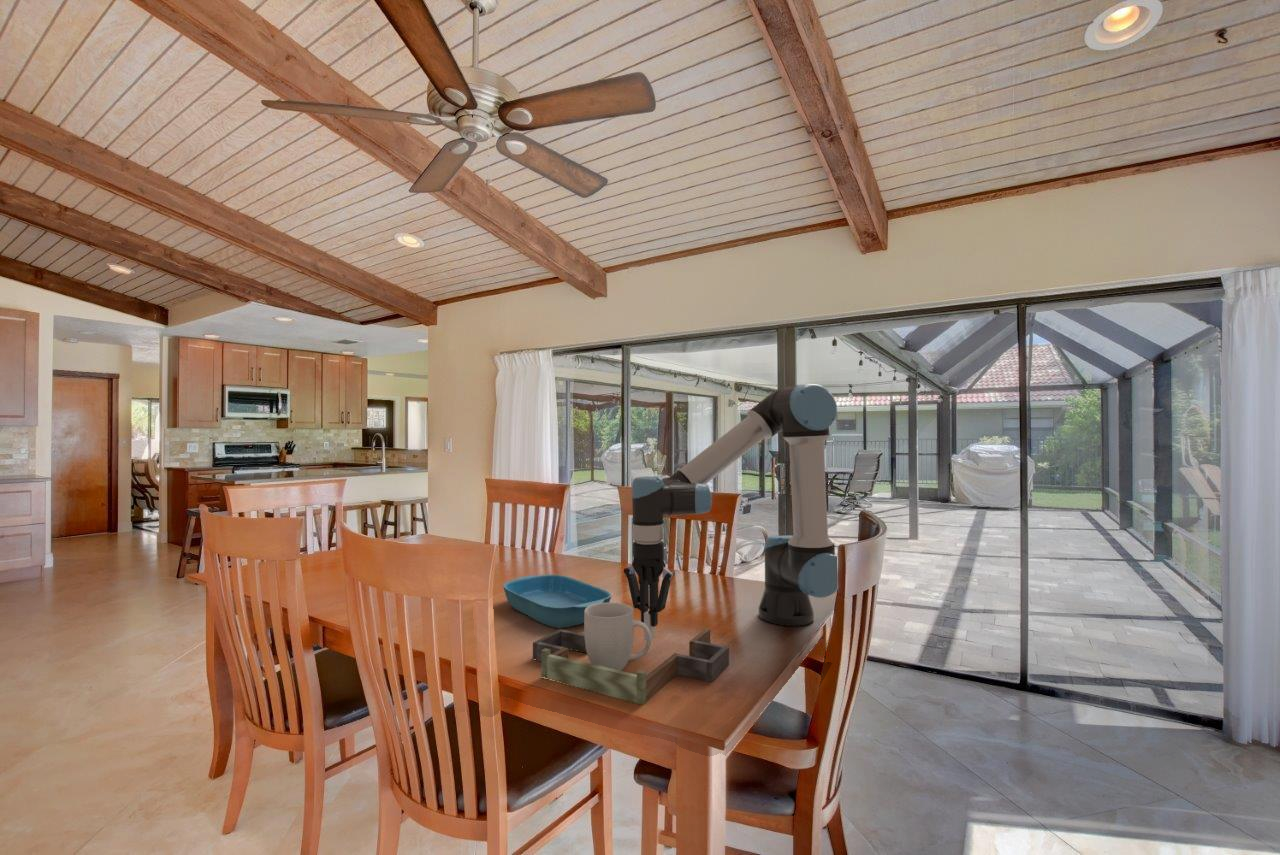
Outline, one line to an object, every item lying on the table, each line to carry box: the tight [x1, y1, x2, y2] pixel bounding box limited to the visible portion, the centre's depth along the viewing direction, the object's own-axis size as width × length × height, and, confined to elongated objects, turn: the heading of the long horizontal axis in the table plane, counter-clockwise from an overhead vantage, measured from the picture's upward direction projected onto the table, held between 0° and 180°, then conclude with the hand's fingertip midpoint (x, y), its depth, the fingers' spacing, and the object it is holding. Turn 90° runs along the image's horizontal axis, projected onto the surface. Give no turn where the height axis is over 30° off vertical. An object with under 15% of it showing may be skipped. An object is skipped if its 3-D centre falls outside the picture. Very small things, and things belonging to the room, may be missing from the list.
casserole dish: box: [502, 574, 612, 629], centre depth 169 cm, size 37×22×7 cm, turn 41°
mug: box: [583, 602, 652, 671], centre depth 130 cm, size 15×11×13 cm
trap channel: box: [532, 628, 730, 706], centre depth 134 cm, size 40×35×6 cm
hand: (649, 638), depth 140 cm, fingers closed
